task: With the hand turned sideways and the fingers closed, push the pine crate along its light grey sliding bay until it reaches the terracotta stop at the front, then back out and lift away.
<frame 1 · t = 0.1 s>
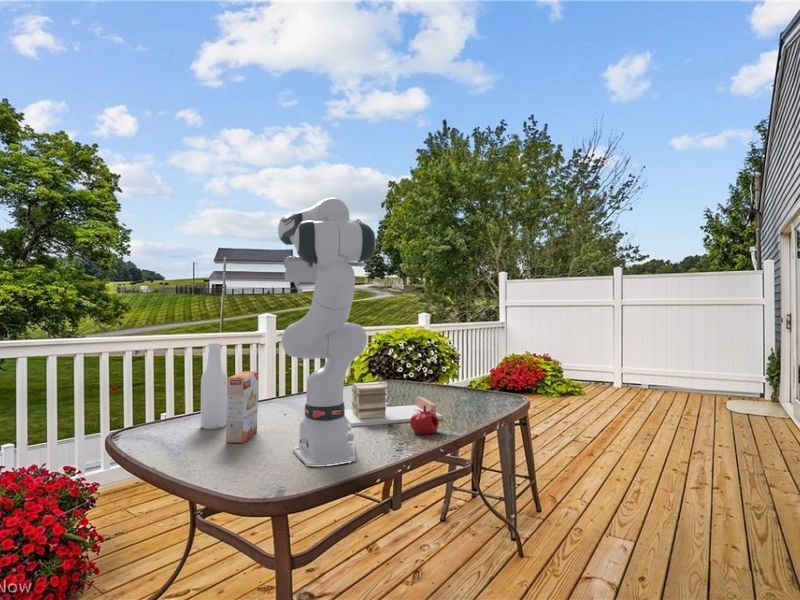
hand: (312, 294, 169), 48 cm above the table, tool pointing down, fingers open, 8 cm apart
cracker box: (242, 437, 152), on the table
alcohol: (213, 426, 164), on the table
red apple: (424, 433, 159), on the table
bay: (390, 416, 180), on the table
crate: (368, 399, 177), point 7 cm above the table, slide at 0.0 cm
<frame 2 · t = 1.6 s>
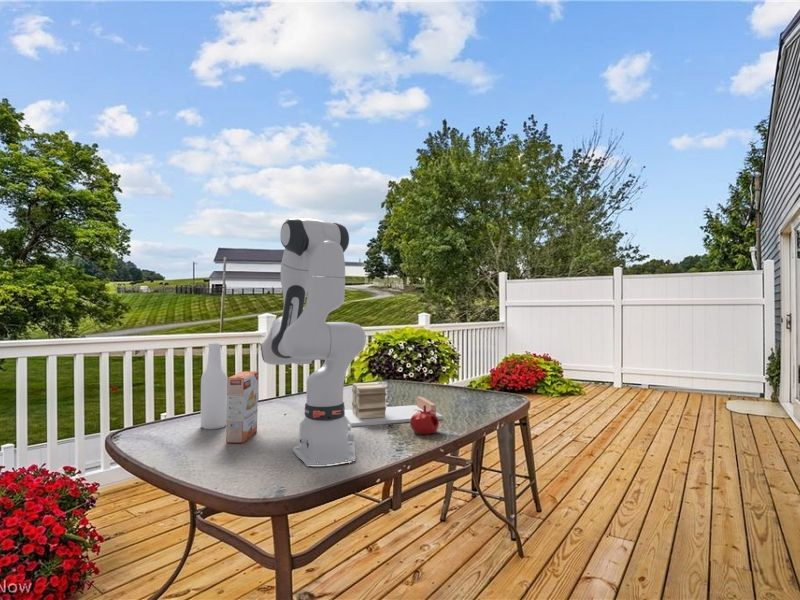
hand: (343, 351, 174), 26 cm above the table, tool horizontal, fingers open, 7 cm apart
nothing on the table moved.
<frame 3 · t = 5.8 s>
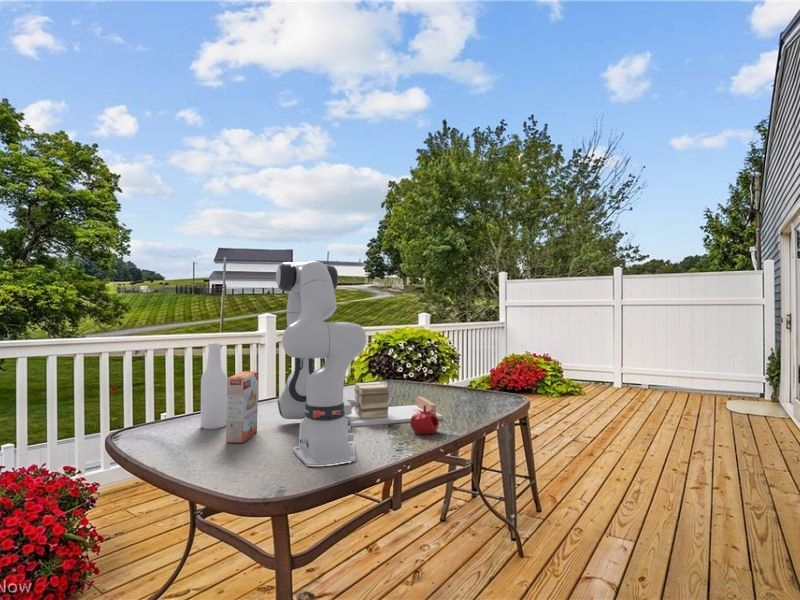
hand: (358, 403, 176), 6 cm above the table, tool horizontal, fingers closed, pressing on crate
crate: (371, 399, 178), point 7 cm above the table, slide at 1.0 cm, touching gripper
everything else where it was.
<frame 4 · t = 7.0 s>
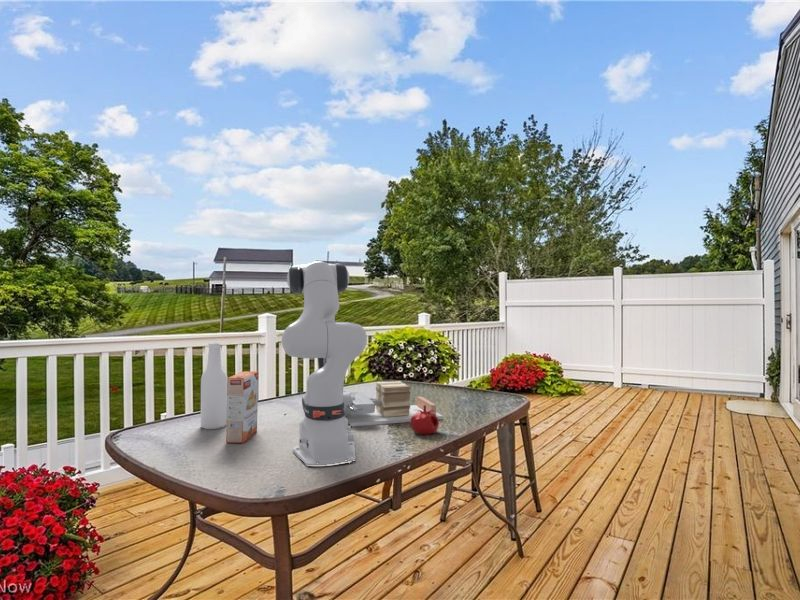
hand: (380, 401, 179), 6 cm above the table, tool horizontal, fingers closed, pressing on crate
crate: (392, 398, 180), point 7 cm above the table, slide at 9.8 cm, touching gripper
everything else where it was.
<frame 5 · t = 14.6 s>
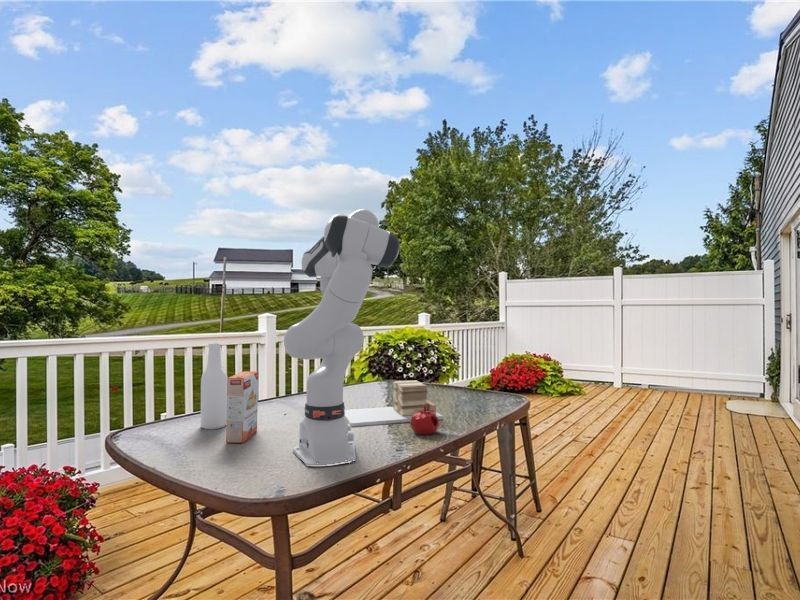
hand: (331, 322, 177), 37 cm above the table, tool pointing down, fingers closed
crate: (409, 397, 183), point 7 cm above the table, slide at 16.9 cm
everything else where it was.
at the end: crate slide at 16.9 cm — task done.
